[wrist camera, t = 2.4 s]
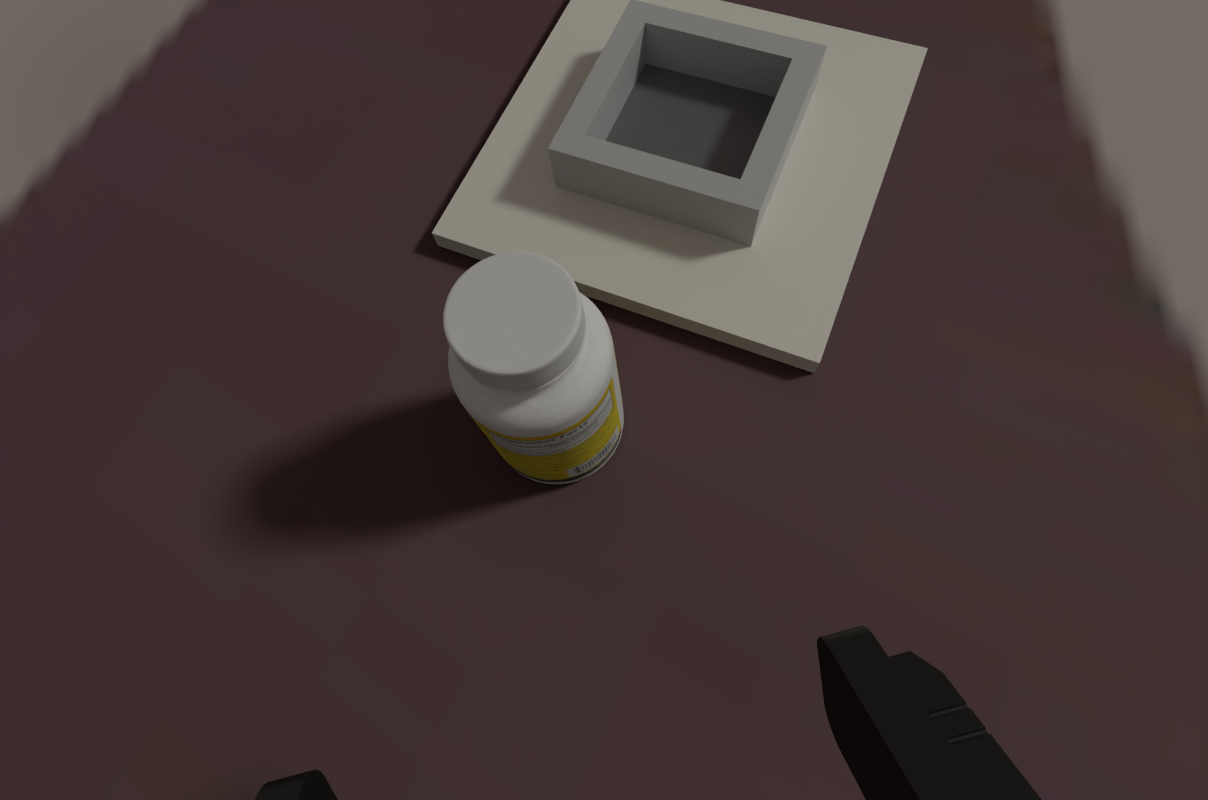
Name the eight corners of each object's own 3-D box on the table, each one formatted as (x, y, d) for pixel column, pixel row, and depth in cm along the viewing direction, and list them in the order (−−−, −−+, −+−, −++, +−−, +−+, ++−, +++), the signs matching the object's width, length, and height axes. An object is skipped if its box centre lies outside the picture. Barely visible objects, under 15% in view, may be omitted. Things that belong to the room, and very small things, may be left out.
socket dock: (438, 245, 32) (413, 197, 29) (590, -13, 37) (584, -78, 34) (814, 373, 28) (834, 334, 25) (919, 65, 34) (948, 1, 31)
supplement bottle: (506, 360, 29) (440, 222, 20) (630, 370, 29) (620, 233, 20) (483, 481, 27) (398, 388, 18) (616, 495, 27) (597, 406, 18)
